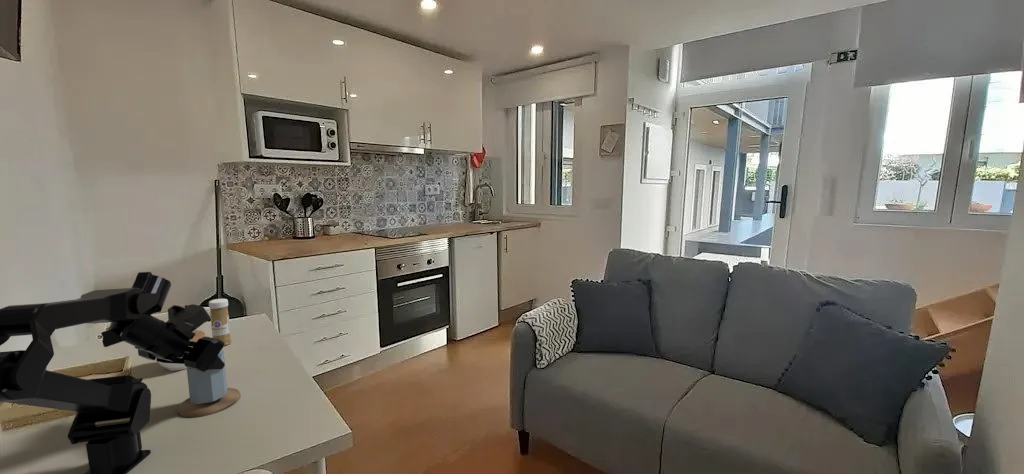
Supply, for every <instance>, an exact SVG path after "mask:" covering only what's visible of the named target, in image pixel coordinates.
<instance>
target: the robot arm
mask: <svg viewBox="0 0 1024 474" xmlns="http://www.w3.org/2000/svg"><path fill="white" fill-rule="evenodd" d="M171 286H172V283H171V281H170V280H169V279H166V278H165V277H163V276H160V275H157V274H156V275H155V274H152V272H151V271H143V272H137V275H136V278H135V279H134V282H133V284H132V286H131V287H127V288H126V287H125V288H109V289H106V288H105V289H95V290H91V291H89V292H86V293H83V294H82V295H80V298H76V299H68V300H61V301H54V302H53V301H52V302H44V303H43V302H42V303H28V304H14V305H12V304H11V305H7V306H5V307H2V308H0V346H2V345H4V344H5V343H6V342H8V340H9V339H10V337H19V336H31V338H32V340H31V342H30V343H29V345H28V346H27V347H26V349H25V350H22V349H21V350H19V349H18V350H8V351H7V350H6V351H0V404H1V403H8V404H13V405H15V404H16V405H22V406H30V407H39V408H45V409H46V408H47V409H55V410H62V411H68V412H69V411H70V412H75V416H74V418H73V421H72V424H71V426H70V428H69V431H68V433H67V438H68V440H69V442H70V444H71V445H77V444H81V443H82V444H83V443H85V449H86V454H87V455H86V456H87V462H88V467H89V469H87V470H86V471H85V472H84V473H83V474H127V473H129V472H130V471H131V470H132V469H134V468H135V467H136V466H137V465H139V463H141V462H143V460H144V459H146V458H147V457H148V456H149V455H150V454H151V451H152V450H151V449H143V444H142V436H141V430H142V429H143V428H145V426H146V425H147V424H148V423H149V422H150V419H151V418H150V417H151V405H152V393H151V390H150V388H148V385H147V383H145V382H143V379H144V378H143V377H140V378H139V377H138V378H136V377H134V376H132V375H129V374H127V375H117V376H108V377H100V378H98V377H97V378H90V379H86V378H81V377H77V376H71V375H69V374H64V373H60V372H56V371H52V370H51V371H50V370H47V367H48V366H49V364H50V362H51V360H53V357H54V355H55V350H54V347H53V343H52V342H53V341H52V338H51V337H52V335H53V334H54V332H55V330H59V329H64V328H69V327H74V326H80V325H83V324H107V323H110V324H109V325H108V329H107V330H104V331H102V332H100V334H101V336H102V346H103V347H104V348H108V347H110V346H113V345H117V344H120V343H122V342H125V343H127V344H129V345H131V346H133V347H134V349H136V350H137V355H138V356H140V357H141V358H144V359H146V360H149V361H154V362H155V361H156V362H157V361H158V362H162V363H176V364H185V366H186V367H188V368H189V369H193V370H197V371H201V372H205V371H207V370H211V369H223V367H224V366H225V367H226V363H224V362H223V361H222V360H221V359H220V358H219V356H218V354H219V353H220V351H221V350H222V349H223V348H224V347H225V346H224V342H222V341H221V340H219V339H216V338H213V337H211V336H205V337H203V338H200V339H199V340H198V341H197V342H193V341H189V340H190V339H193V337H194V336H195V335H196V334H195V333H193V332H192V331H194V330H197V329H198V328H200V327H201V326H202V325H204V324H205V323H207V322H209V321H210V320H211V315H210V314H209V312H207V310H206V309H205V306H203V305H198V304H189V305H188V304H185V305H184V306H181V305H175V304H173V305H172V306H170V307H169V308H167V317H168V318H167V319H168V320H167V321H164V320H161V319H159V318H157V317H155V316H154V315H153V314H156V313H161V312H162V309H163V307H164V305H165V302H166V299H167V297H168V294H169V292H170V289H171V288H172V287H171ZM189 346H190V347H189ZM187 354H188V355H187ZM156 358H157V359H156ZM158 362H157V363H158ZM123 419H126V420H123ZM118 420H121V421H118ZM109 421H110V422H109ZM111 421H114V422H111ZM102 422H106V423H102ZM96 423H97V424H96Z"/></svg>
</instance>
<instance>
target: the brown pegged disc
mask: <svg viewBox="0 0 1024 474" xmlns="http://www.w3.org/2000/svg"><path fill="white" fill-rule="evenodd" d="M240 399H241V392H240V390H239V389H237V388H234V387H227V393H226V395H225V396H224V397H222V398H219V399H217V400H215V401H213V402H208V403H202V404H196V403H192V402H190V397H188V398H186V399H185V400H183V401H182V402H181V403H180V404H179V405H178V408H177V410H178V411H177V413H178V412H179V413H178V415H179V416H181V415H182V416H181V417H184V416H186V418H199V417H198V416H200V417H206V416H209V415H213V413H214V414H217V413H219V412H222V411H224V410H227V409H228V408H230V407H232V406H233V405H235V404H236V403H237V402H239V400H240ZM203 415H204V416H203ZM205 415H206V416H205Z"/></svg>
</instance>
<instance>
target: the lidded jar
mask: <svg viewBox="0 0 1024 474" xmlns="http://www.w3.org/2000/svg"><path fill="white" fill-rule="evenodd" d="M192 332H193V333H195V334H196V335H195V336H194V337H193V339H190V340H189V341H193V342H197V341H198V340H199V339H200V338H203V337H206V334H205V332H204V331H203V330H197V329H196V330H194V331H192ZM189 347H190V346H189ZM156 359H157V358H156ZM156 359H155V360H156ZM156 362H157V363H158V364H159V365H160V366H161V367H163V368H165V369H167V370H168V371H171V372H173V371H174V372H175V371H176V372H177V371H183V370H187V367H186V366H185V364H176V363H162V362H158V361H156Z"/></svg>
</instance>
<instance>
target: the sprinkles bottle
mask: <svg viewBox="0 0 1024 474" xmlns="http://www.w3.org/2000/svg"><path fill="white" fill-rule="evenodd" d="M228 306H229V300H228V299H227V298H215V299H212V300H209V301H208V308H209V310H210V317H211V318H210V320H211V323H210V325H211V326H210V327H211V336H212V338H216V339H219V340H221V341H222V342H224V347H225V346H228V345H231V343H232V338H231V337H232V336H231V326H230V315H229V308H228Z"/></svg>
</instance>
